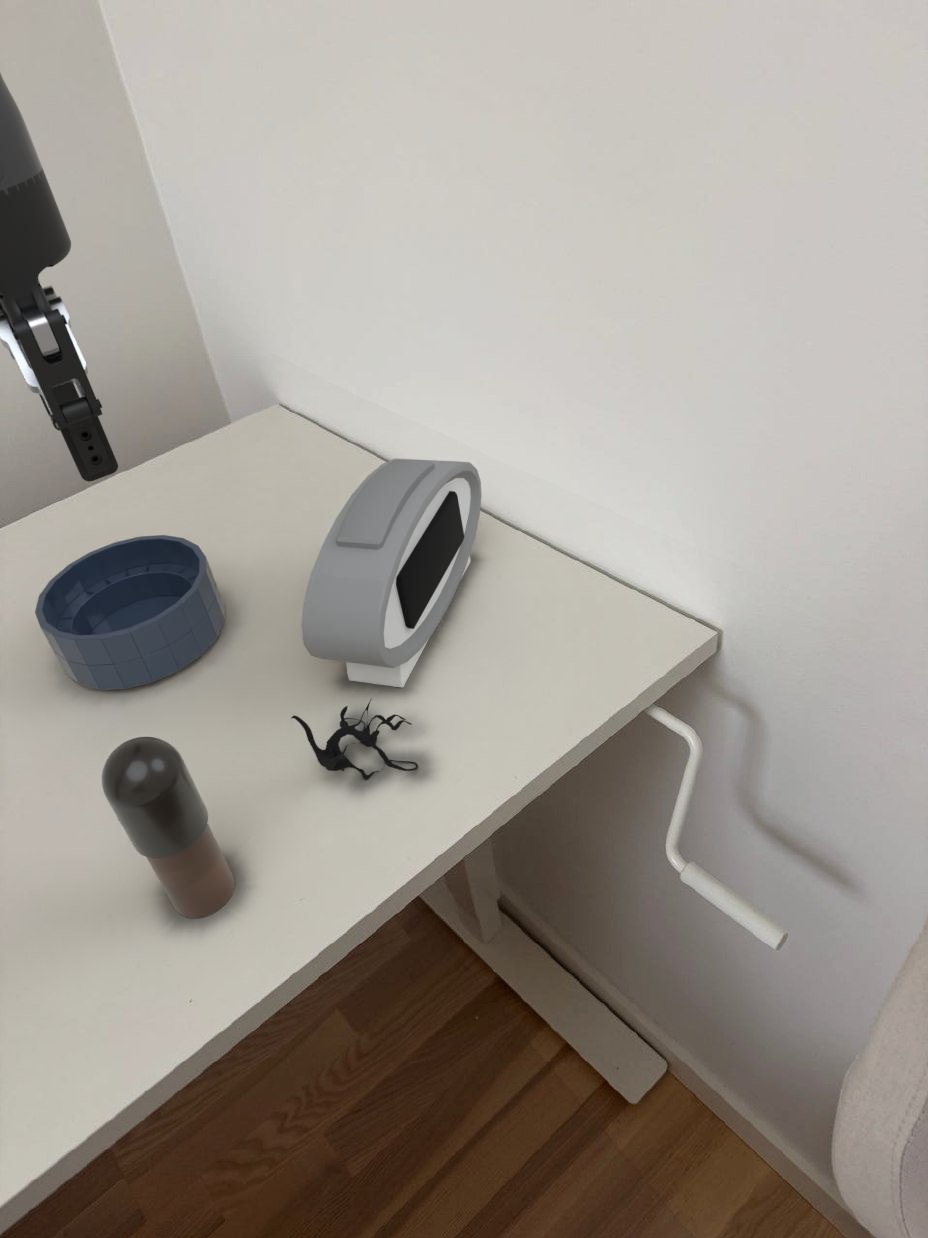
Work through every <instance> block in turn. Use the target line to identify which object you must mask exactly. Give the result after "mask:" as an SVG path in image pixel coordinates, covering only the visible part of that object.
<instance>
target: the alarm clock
mask: <svg viewBox="0 0 928 1238" xmlns="http://www.w3.org/2000/svg"><path fill="white" fill-rule="evenodd" d="M481 481H482V480H481V477H480V475H479V470H478V469H477V468H476V467H475V466H474V464H472V462H470V461H457V460H439V459H438V460H437V459H415V458H392V459H390V460H388V461H386V462H384V463H381V464H380V465H379V466H378V467H377V468H376V469H374V470H373V471H372V472H371V473H369V474H368V475H367V476H366V477H365V478H364V479H363V480H362V482H361V483H360V484H359V485H358V487H357V488H356V489H355V490H354V491H353V492H352V494H351V495H350V497H349V498H348V500H346V503H345V504H344V506H343V507H342V509H341V510H340V511H339V513H338V515H336V518H335V520H334V522H333V524H332V526H331V527H330V529H329V531H328V533H327V534H326V537H325V539H324V541H323V543H322V545H321V547H320V550H319V552H318V555H317V558H316V560H315V563H314V565H313V568H312V570H311V573H310V577H309V580H308V583H307V588H306V592H305V595H304V598H303V599H304V600H303V605H302V616H301V623H300V627H301V635H302V642H303V643H302V644H303V646H304V648H305V650H306V651H307V653H308V654H309V655H310V657H313V658H316V659H321V660H328V661H333V662H334V661H335V662H341V663H342V662H343V663H345V665H346V672H347V673H346V674H347V678H348V681H351V682H358V683H364V684H365V683H366V684H372V685H373V684H374V685H380V686H388V687H395V688H396V687H397V688H404V687H405V685H406V683H407V681H408V679H409V678H410V675H411V673H412V671H413V670H414V668H415V666H416V665H417V662H418V660H419V658H420V657H421V655H422V653H423V651H424V649H425V648H426V645H427V643H428V641H429V640H430V638H431V636H432V635H433V634H434V633H435V631H436V629H437V627H438V626H439V624H440V622H441V621H442V620H443V617H444V615H445V614H446V612H447V611H448V608H449V607H450V604H451V603H452V600H453V598H454V596H455V594H456V592H457V590H458V587H459V585H460V583H461V581H462V579H463V576H464V575H465V573H466V571H467V570H468V567H469V565H470V563H471V561H472V559H471V551H472V549H473V545H474V543H475V539H476V533H477V529H478V525H479V521H480V515H481V505H482V482H481Z"/></svg>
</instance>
